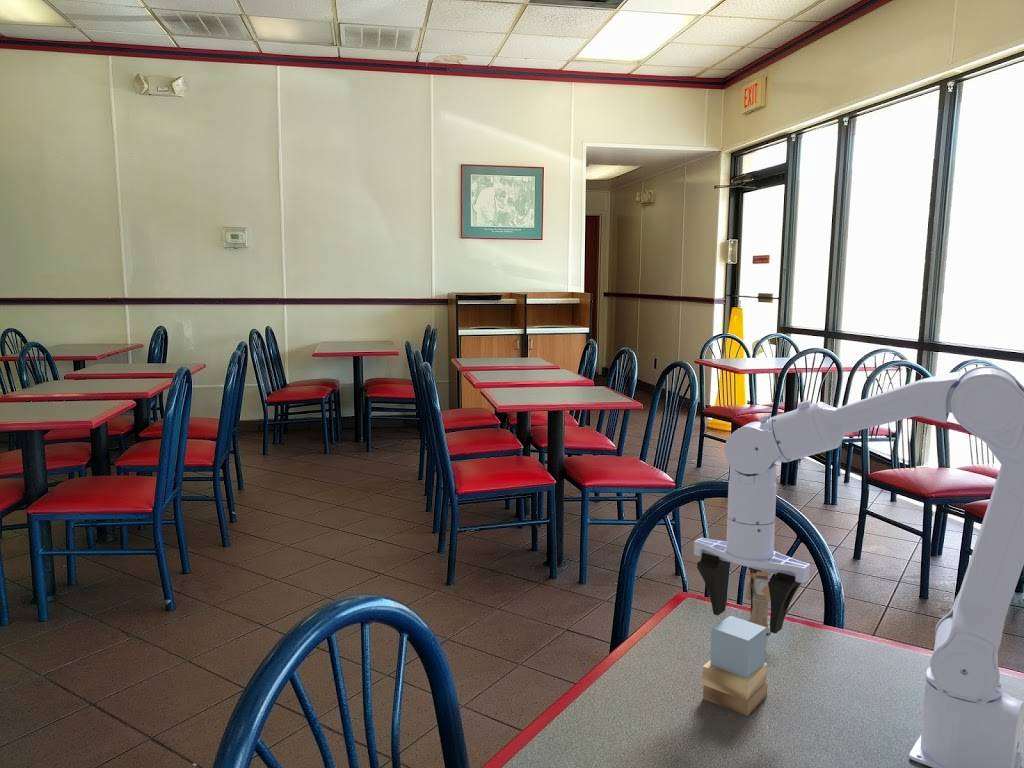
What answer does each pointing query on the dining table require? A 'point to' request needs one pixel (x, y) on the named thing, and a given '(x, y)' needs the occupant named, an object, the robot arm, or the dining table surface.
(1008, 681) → the dining table surface
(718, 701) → the lower slab
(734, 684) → the upper slab
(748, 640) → the cube
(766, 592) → the toy
